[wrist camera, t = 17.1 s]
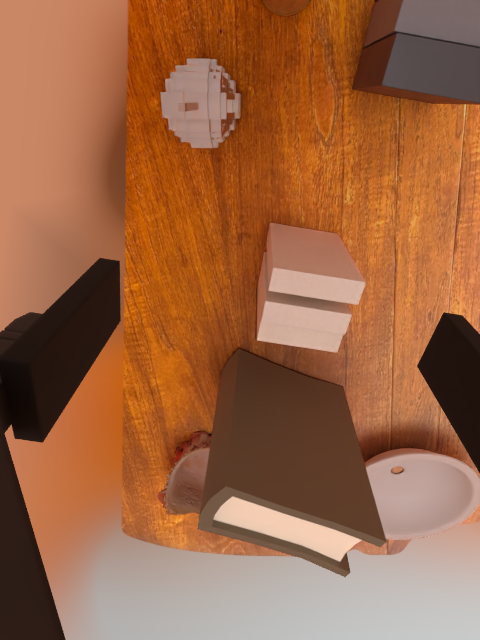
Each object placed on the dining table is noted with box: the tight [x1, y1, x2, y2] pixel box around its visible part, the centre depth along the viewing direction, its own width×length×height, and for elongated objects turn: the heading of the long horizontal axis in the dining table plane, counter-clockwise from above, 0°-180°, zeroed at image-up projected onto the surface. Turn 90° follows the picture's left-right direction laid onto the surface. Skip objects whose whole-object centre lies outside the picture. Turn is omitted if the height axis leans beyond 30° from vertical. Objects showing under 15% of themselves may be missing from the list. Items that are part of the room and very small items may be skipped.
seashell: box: [157, 431, 211, 515], centre depth 68 cm, size 17×11×15 cm
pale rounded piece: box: [160, 58, 241, 148], centre depth 35 cm, size 8×8×15 cm
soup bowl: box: [365, 448, 480, 540], centre depth 68 cm, size 24×24×7 cm
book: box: [198, 349, 387, 577], centre depth 51 cm, size 19×8×25 cm, turn 67°
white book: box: [267, 223, 366, 305], centre depth 43 cm, size 2×9×15 cm, turn 81°
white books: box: [255, 252, 352, 353], centre depth 46 cm, size 6×9×14 cm
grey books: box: [352, 0, 480, 104], centre depth 33 cm, size 11×9×12 cm
